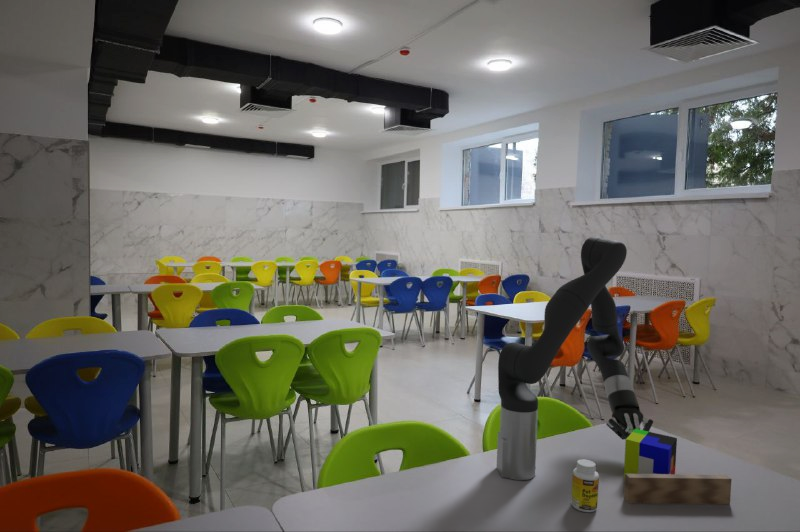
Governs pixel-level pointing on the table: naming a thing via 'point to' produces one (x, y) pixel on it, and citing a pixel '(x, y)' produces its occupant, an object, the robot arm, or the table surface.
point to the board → (677, 488)
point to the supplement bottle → (585, 486)
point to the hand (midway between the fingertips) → (639, 453)
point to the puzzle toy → (649, 453)
